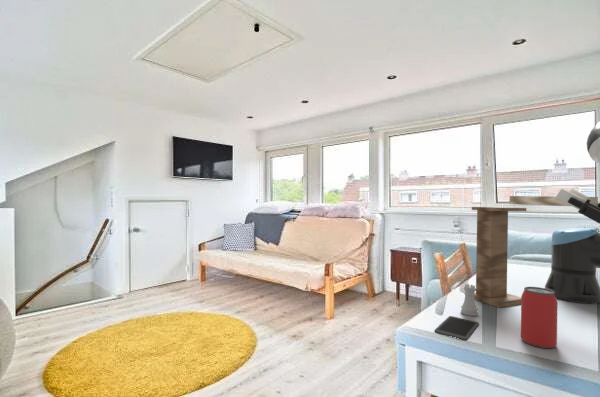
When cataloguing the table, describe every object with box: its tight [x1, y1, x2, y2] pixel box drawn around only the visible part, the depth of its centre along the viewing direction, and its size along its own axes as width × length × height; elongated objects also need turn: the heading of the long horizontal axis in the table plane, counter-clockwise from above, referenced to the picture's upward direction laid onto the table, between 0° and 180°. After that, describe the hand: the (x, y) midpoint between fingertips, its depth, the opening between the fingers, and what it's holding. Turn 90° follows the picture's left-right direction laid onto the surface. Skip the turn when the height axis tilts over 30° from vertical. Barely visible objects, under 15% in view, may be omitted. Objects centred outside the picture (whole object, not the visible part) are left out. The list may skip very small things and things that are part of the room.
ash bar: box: [508, 195, 599, 207], centre depth 91 cm, size 20×4×2 cm, turn 24°
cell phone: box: [434, 315, 480, 341], centre depth 81 cm, size 7×14×1 cm, turn 140°
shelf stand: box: [471, 206, 527, 309], centre depth 104 cm, size 10×12×30 cm
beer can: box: [520, 286, 559, 349], centre depth 73 cm, size 7×7×12 cm
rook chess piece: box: [460, 283, 479, 317], centre depth 92 cm, size 4×4×8 cm
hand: (564, 193), depth 87 cm, fingers closed on ash bar, 4 cm apart
